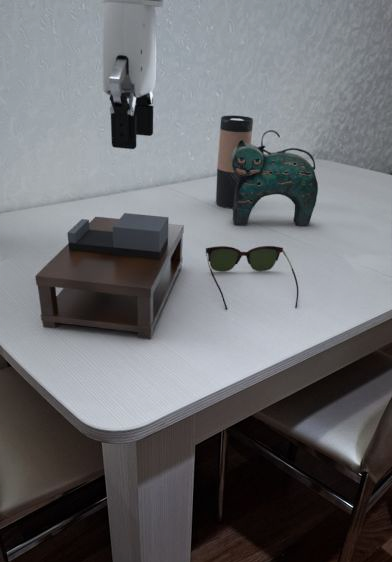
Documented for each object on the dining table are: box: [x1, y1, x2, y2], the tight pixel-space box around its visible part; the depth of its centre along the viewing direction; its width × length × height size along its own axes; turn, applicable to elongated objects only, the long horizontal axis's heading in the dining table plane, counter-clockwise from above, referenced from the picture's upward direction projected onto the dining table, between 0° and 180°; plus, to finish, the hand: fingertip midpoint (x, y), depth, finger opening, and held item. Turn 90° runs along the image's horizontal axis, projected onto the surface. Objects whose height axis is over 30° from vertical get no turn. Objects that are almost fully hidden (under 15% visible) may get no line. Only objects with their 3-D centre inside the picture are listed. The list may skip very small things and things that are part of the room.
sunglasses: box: [205, 245, 299, 311], centre depth 85 cm, size 14×15×5 cm
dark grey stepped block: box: [67, 212, 169, 259], centre depth 77 cm, size 14×7×4 cm, turn 82°
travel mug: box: [215, 114, 254, 209], centre depth 122 cm, size 8×8×20 cm
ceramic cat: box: [231, 129, 319, 227], centre depth 111 cm, size 20×6×20 cm, turn 95°
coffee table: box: [35, 216, 185, 340], centre depth 80 cm, size 16×26×8 cm, turn 172°
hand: (133, 140), depth 70 cm, fingers open, 9 cm apart
